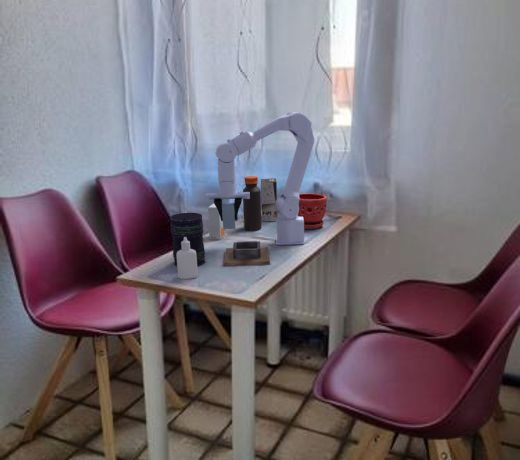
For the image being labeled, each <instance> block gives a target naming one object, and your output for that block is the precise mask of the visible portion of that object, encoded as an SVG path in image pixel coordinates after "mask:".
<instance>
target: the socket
mask: <svg viewBox="0 0 520 460" xmlns="http://www.w3.org/2000/svg"><path fill="white" fill-rule="evenodd" d="M232 245H233V246H232V247H227V248H225V254H224V261H223V266H225V267H230V266H232V267H233V266H257V265H259V266H261V265H271V258H270V252H269V251H270V249H269V246H261V241H258V240H250V241H247V240H245V241H236V242H235V241H234V242H233V244H232Z"/></svg>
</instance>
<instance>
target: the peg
mask: <svg viewBox="0 0 520 460" xmlns="http://www.w3.org/2000/svg"><path fill="white" fill-rule="evenodd" d="M222 216H223V229H225V230H236V221H235V204H234V202H222Z"/></svg>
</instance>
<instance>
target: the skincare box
mask: <svg viewBox="0 0 520 460" xmlns="http://www.w3.org/2000/svg"><path fill="white" fill-rule="evenodd" d="M207 214H208V232H209V240H213V241H214V240H219V241H220V240H222V239H223V237H225V230H226V229H223V221H221V218H220V215H219V212H218V210H217V208H216V206H215V204H214V203H212V204H211V205H209V206H208V208H207Z"/></svg>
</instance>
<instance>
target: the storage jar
mask: <svg viewBox="0 0 520 460" xmlns="http://www.w3.org/2000/svg"><path fill="white" fill-rule="evenodd" d="M169 218H170V219H169V221H170V230H171V231H170V232H171V233H170V234H171V236H172V257H173V260H174V261H173V264H174V266H175V267H176V268H177V252H178V251H179V250H182V247H181V242H182V241H183V240H184V237H186V238H187V241H190V249H193V250H195V251H196V256H197V268H198V267H201V266H203V265H204V264H206V259H205V258H206V252H205V251H206V249H205V244H204V236H203V235H204V223H203V215H202V214H201V213H197V212H183V213H181V212H180V213H177V214H174V215H173V214H172V215H171V216H170V217H169Z"/></svg>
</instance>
